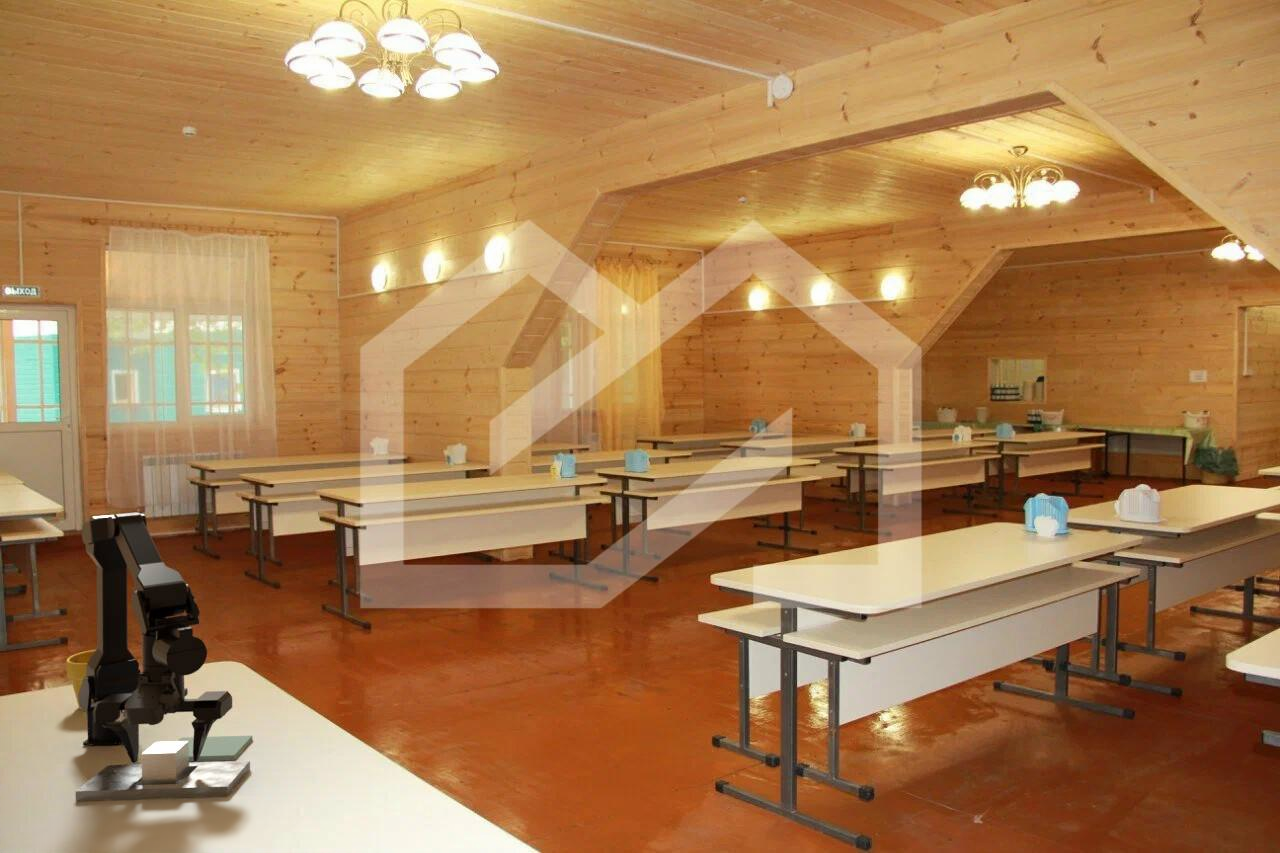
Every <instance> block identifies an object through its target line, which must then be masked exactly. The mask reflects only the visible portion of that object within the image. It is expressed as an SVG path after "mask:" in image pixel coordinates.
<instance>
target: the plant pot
mask: <svg viewBox="0 0 1280 853" xmlns="http://www.w3.org/2000/svg"><path fill="white" fill-rule="evenodd" d="M95 651H96V649H92V650H85V651H82V652H78V653H75V654H73V655H70V656H69V657H68V658H67V659H66V662H65V664H66V666H65V667H66V668H65V669H66V678H68V679H70V681H71V685H72V687H73V692H74V694H75V698H76V702H77V705H78V708H79V709H80V710H82V711H84V710H83V709H82V708H81V707H80V706H79V699H78V693H79V690H80V688H81V685H82V682H83V679H84V677H86V671H87V663H88V662H89V660H90V658H91V657H92V655H93V654H94V652H95Z"/></svg>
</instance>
